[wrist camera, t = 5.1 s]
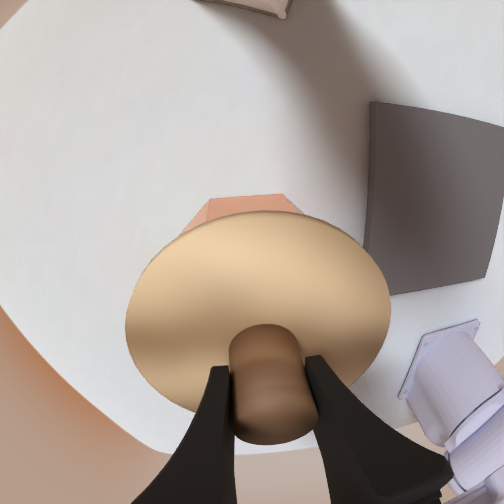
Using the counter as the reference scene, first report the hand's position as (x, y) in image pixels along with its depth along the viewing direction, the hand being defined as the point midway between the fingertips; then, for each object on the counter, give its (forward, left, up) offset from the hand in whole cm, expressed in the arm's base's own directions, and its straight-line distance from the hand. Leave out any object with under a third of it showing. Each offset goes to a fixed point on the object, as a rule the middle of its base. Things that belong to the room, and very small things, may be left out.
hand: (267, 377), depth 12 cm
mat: (+4, -14, -9) cm, 17 cm away
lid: (0, 0, -2) cm, 2 cm away
